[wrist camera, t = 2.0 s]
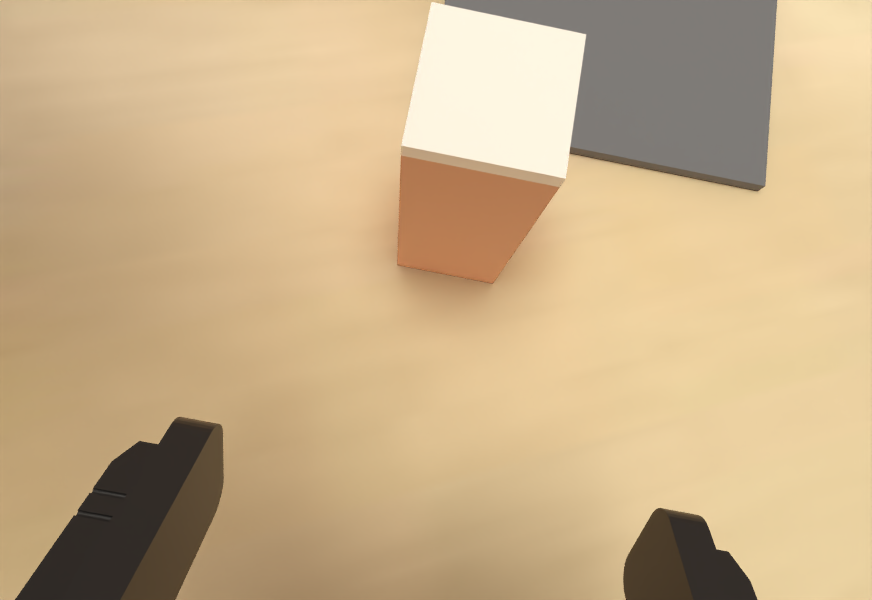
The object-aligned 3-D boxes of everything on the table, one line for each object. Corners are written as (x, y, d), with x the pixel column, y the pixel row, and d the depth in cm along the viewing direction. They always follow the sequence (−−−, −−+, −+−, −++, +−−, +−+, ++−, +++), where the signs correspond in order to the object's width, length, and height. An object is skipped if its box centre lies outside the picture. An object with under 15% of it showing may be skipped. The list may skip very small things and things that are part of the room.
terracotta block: (397, 264, 28) (401, 145, 16) (415, 175, 29) (431, 2, 17) (492, 283, 28) (565, 178, 16) (507, 194, 29) (586, 34, 17)
